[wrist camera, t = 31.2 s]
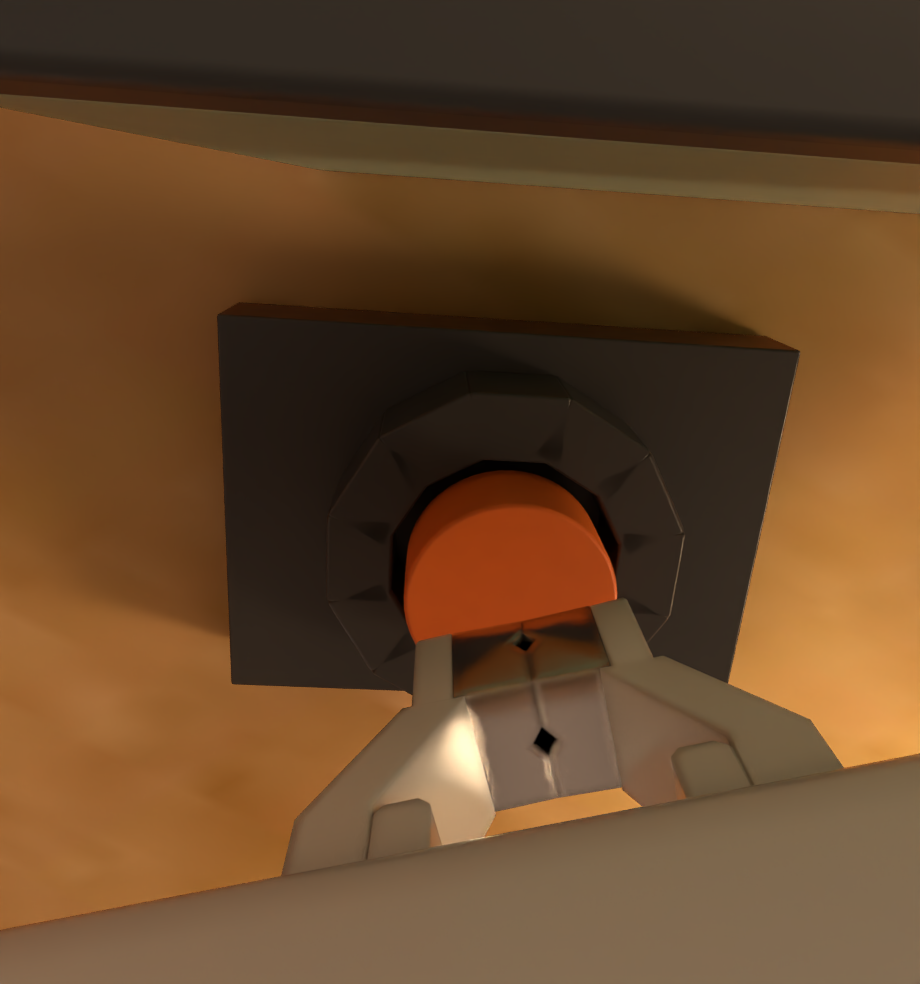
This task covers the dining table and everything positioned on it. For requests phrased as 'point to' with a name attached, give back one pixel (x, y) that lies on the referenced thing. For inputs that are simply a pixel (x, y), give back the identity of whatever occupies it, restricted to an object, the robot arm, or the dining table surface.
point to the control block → (481, 471)
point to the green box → (509, 156)
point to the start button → (502, 556)
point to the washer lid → (501, 66)
